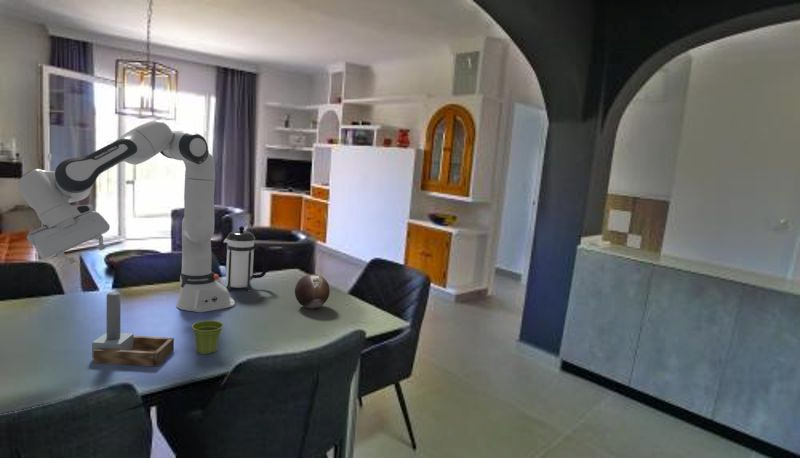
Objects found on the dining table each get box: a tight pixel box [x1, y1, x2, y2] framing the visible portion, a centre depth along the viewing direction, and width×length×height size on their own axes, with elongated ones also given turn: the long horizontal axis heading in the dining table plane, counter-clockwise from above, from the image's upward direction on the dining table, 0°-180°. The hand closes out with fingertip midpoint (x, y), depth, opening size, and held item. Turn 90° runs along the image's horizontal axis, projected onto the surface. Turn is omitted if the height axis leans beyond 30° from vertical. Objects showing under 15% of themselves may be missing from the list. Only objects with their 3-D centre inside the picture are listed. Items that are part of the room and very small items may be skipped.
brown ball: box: [294, 273, 331, 309], centre depth 200 cm, size 15×15×15 cm
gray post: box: [91, 291, 135, 359], centre depth 139 cm, size 8×8×19 cm
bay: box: [93, 335, 175, 367], centre depth 141 cm, size 18×12×4 cm, turn 95°
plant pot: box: [191, 320, 224, 355], centre depth 149 cm, size 9×9×9 cm
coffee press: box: [223, 225, 269, 291], centre depth 218 cm, size 17×16×30 cm
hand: (88, 256), depth 143 cm, fingers open, 8 cm apart
